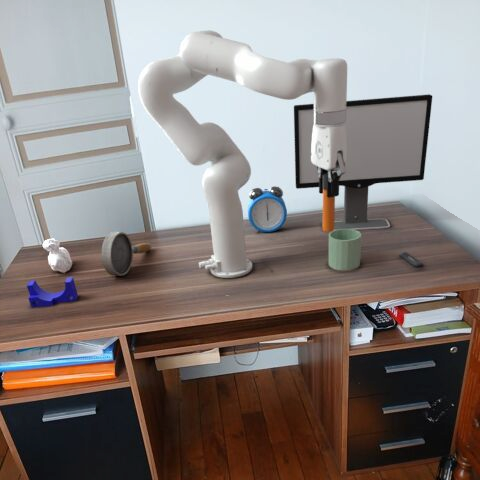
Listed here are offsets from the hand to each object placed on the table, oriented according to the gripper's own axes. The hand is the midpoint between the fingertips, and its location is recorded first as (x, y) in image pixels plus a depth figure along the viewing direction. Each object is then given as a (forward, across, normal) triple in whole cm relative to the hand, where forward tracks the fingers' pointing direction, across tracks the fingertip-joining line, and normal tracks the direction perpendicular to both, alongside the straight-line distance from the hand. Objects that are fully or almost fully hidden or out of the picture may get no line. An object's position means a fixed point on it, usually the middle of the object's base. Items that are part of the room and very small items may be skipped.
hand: (328, 193), depth 128 cm
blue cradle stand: (+24, -25, -73) cm, 81 cm away
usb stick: (+24, +3, +25) cm, 35 cm away
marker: (+10, 0, 0) cm, 10 cm away
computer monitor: (+24, -31, +28) cm, 48 cm away
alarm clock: (+24, -43, +1) cm, 50 cm away
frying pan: (+24, -39, -48) cm, 67 cm away
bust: (+24, -48, -69) cm, 88 cm away
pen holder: (+24, -5, +8) cm, 26 cm away
